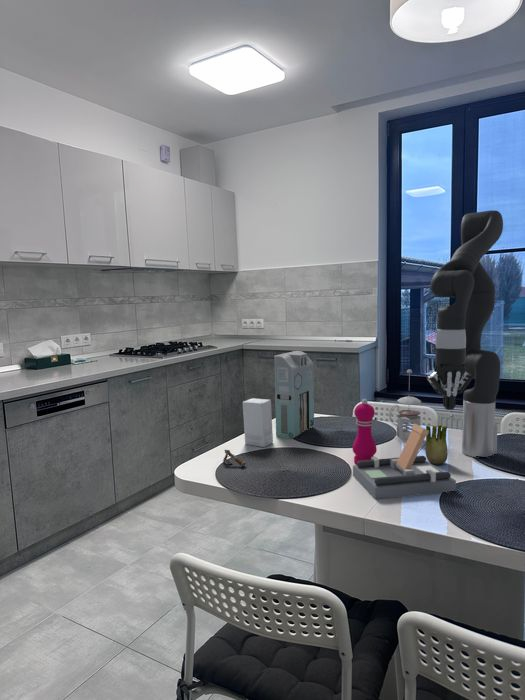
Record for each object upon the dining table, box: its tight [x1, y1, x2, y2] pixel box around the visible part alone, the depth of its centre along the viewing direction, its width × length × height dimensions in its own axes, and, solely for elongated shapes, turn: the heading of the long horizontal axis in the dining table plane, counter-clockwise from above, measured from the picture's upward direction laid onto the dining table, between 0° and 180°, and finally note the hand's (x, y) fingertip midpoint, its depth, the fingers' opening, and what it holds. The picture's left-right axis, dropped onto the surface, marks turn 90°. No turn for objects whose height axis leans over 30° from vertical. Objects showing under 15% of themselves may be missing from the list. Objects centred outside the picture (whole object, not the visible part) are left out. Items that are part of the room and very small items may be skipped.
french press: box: [388, 369, 422, 444], centre depth 163 cm, size 10×12×25 cm
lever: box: [395, 423, 429, 473], centre depth 126 cm, size 2×6×13 cm, turn 9°
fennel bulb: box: [425, 424, 449, 466], centre depth 140 cm, size 6×5×12 cm
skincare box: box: [242, 397, 274, 448], centre depth 163 cm, size 8×7×16 cm
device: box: [274, 350, 315, 439], centre depth 175 cm, size 16×8×30 cm, turn 147°
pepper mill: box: [352, 398, 377, 465], centre depth 142 cm, size 7×7×20 cm
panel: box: [352, 459, 457, 500], centre depth 126 cm, size 22×16×5 cm
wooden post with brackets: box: [222, 449, 247, 468], centre depth 144 cm, size 2×8×4 cm, turn 56°
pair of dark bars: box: [356, 455, 452, 485], centre depth 126 cm, size 21×15×2 cm
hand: (449, 409), depth 127 cm, fingers closed
